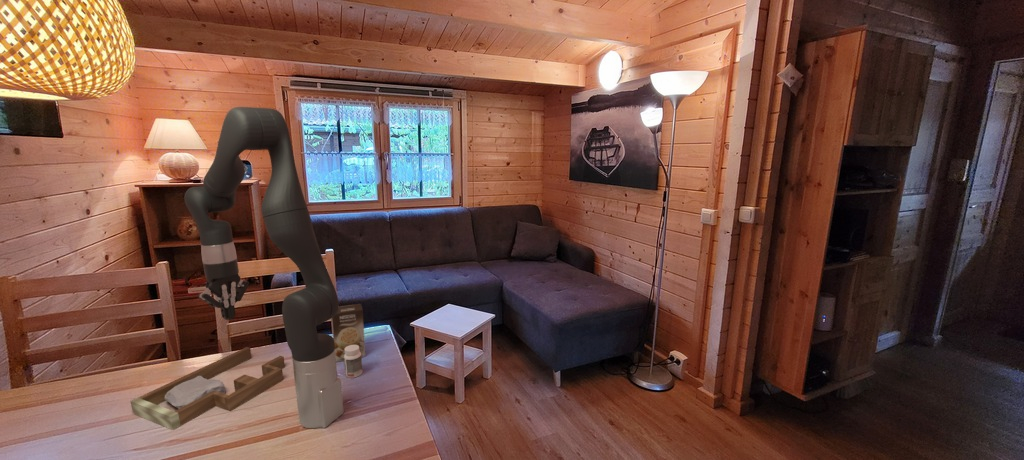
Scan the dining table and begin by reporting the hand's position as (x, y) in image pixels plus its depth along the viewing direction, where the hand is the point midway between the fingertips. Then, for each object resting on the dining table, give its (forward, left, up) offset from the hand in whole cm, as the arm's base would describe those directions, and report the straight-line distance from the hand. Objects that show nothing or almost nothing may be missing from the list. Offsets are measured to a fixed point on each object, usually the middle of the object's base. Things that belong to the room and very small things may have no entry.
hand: (229, 318), depth 110 cm
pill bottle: (-30, -14, -18) cm, 38 cm away
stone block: (0, +11, -19) cm, 22 cm away
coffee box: (-21, -22, -18) cm, 35 cm away
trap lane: (-3, +6, -18) cm, 19 cm away
